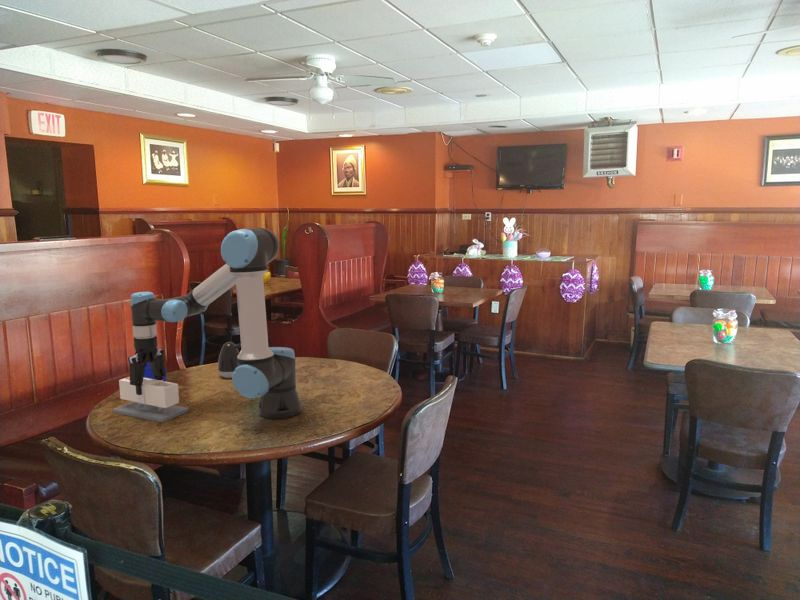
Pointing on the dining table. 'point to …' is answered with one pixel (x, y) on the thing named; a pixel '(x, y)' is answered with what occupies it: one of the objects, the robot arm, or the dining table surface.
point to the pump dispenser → (228, 359)
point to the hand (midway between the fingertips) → (149, 400)
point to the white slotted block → (151, 392)
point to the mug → (149, 373)
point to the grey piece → (150, 411)
